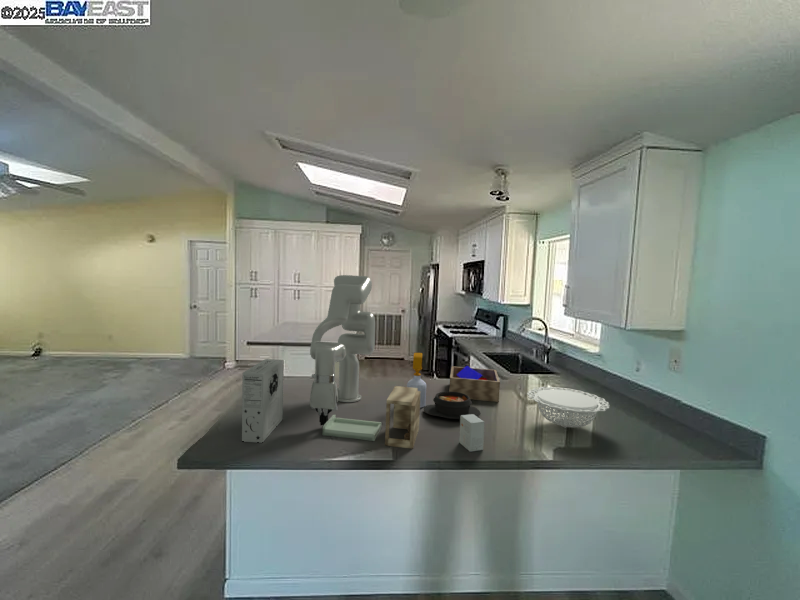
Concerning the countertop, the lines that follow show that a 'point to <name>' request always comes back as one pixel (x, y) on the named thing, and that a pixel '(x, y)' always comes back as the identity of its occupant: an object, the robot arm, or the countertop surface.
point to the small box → (471, 432)
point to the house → (470, 374)
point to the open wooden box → (476, 385)
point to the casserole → (451, 405)
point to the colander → (567, 405)
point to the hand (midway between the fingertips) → (323, 424)
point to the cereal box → (262, 400)
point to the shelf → (403, 415)
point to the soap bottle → (418, 378)
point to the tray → (352, 428)
